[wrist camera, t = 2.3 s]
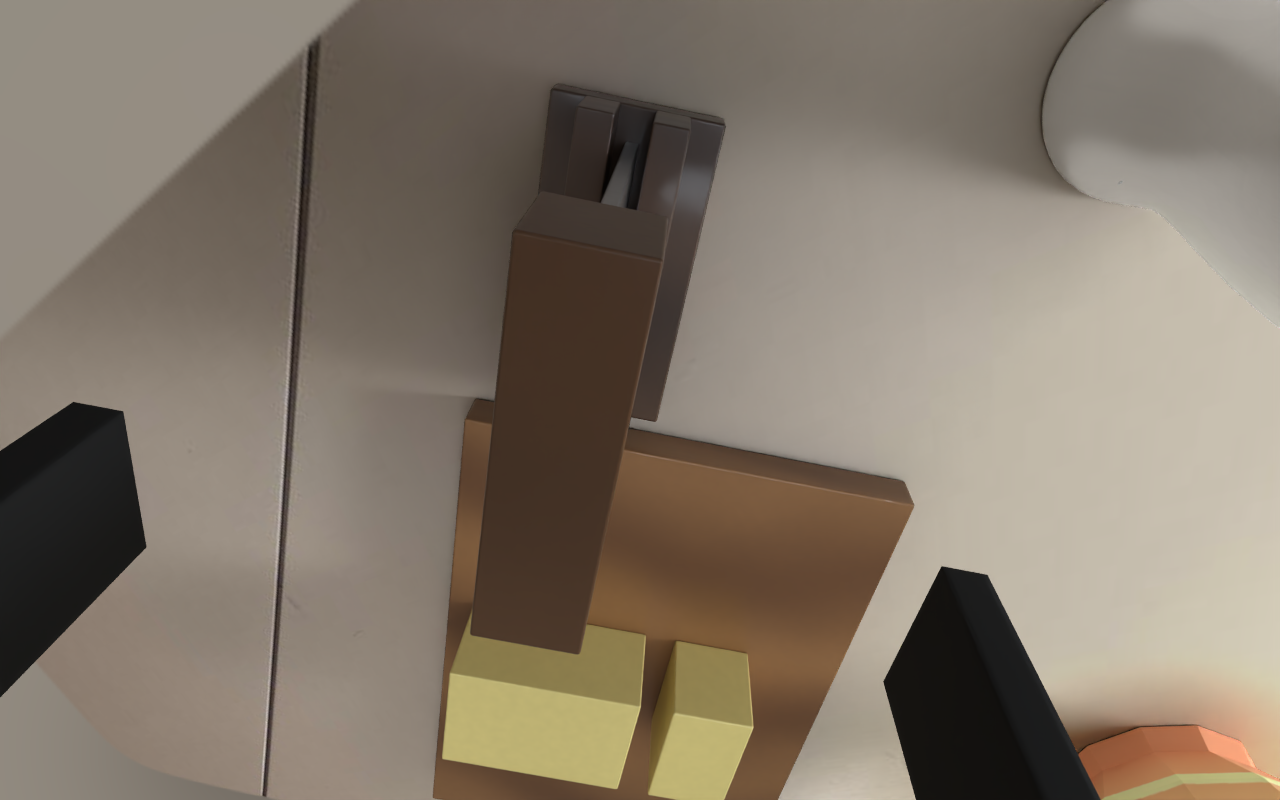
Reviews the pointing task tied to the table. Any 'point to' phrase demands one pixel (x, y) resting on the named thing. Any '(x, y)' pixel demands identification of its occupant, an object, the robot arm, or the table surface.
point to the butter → (546, 706)
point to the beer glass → (1180, 126)
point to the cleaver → (563, 407)
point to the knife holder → (639, 193)
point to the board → (705, 590)
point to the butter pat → (700, 723)
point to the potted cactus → (1175, 766)
